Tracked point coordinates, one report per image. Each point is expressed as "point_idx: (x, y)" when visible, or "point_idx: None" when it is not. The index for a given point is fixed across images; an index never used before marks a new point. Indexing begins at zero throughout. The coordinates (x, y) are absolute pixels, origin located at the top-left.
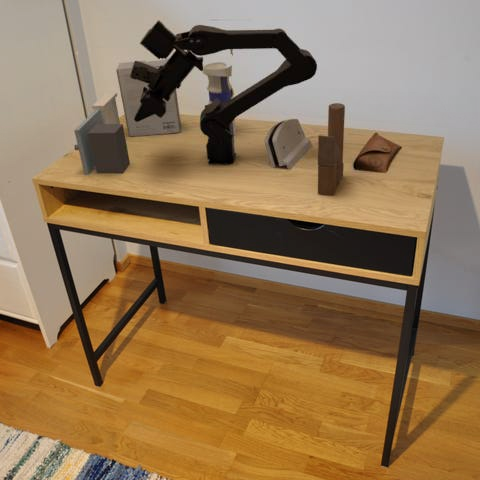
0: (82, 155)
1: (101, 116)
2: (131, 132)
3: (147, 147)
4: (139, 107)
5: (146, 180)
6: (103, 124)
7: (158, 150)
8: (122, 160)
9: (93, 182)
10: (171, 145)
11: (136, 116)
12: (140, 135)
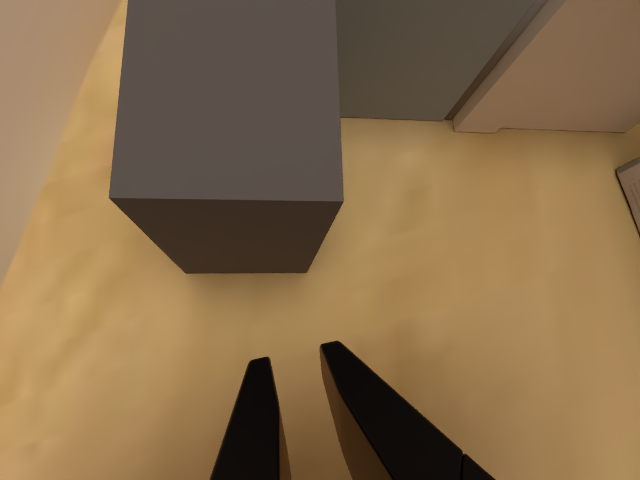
0: None
1: None
2: (637, 176)
3: (509, 304)
4: (379, 452)
5: (87, 438)
6: (329, 39)
7: (480, 379)
8: (205, 261)
9: (87, 158)
10: (553, 436)
11: (233, 415)
12: (637, 223)
